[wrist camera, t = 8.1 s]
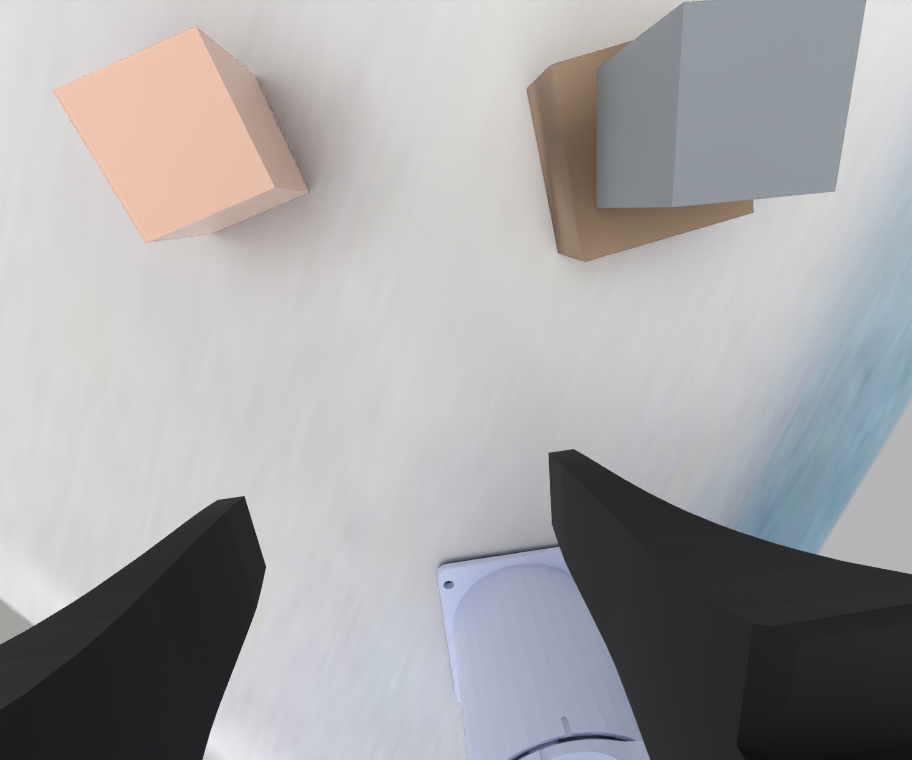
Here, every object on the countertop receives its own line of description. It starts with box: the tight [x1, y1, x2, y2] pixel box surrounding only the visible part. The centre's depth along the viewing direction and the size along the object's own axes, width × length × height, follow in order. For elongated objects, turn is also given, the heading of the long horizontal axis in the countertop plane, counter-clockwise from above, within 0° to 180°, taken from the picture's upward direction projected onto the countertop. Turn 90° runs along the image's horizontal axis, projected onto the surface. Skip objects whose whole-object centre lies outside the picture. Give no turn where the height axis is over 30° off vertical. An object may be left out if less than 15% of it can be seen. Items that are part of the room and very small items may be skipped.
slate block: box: [596, 0, 866, 208], centre depth 13 cm, size 4×4×5 cm
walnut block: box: [527, 41, 754, 262], centre depth 17 cm, size 6×6×4 cm
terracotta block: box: [52, 26, 309, 243], centre depth 15 cm, size 4×4×5 cm
